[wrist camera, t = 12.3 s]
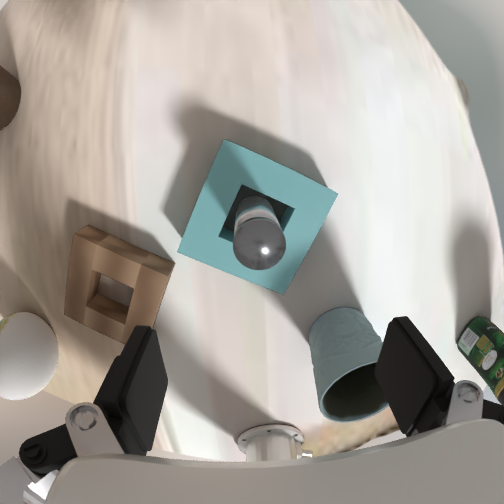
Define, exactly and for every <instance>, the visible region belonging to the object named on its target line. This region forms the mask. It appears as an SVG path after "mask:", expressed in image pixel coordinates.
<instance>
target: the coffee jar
mask: <svg viewBox="0 0 504 504" xmlns="http://www.w3.org/2000/svg"><path fill="white" fill-rule="evenodd" d="M457 347H458V349H459V351H460V352H461V353H462V354H463V355H464V357H465V358H466V359H467V360H468V361H469V362H470V364H471V365H472V366H473V367H474V368H475V369H476V371H477V372H478V373H479V374H480V376H481V377H482V378H483V379H484V381H485V382H486V383H487V384H488V386H489V387H490V389H491V390H492V392H493V393H494V395H495V397H496V398H497V399H498V401H499V402H500V403H501V404H502V405H503V406H504V333H503V332H502V331H501V330H500V329H499V328H498V327H497V326H496V325H495V324H494V323H492V322H491V321H490V320H489V319H487V318H484V317H476V318H475V319H474V320H473V321H472V322H471V323H469V324H468V325H467V326H466V328H465V329H464V331H463V332H462V334H461V336H460V338H459V341H458V344H457Z"/></svg>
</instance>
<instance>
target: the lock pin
mask: <svg viewBox="0 0 504 504" xmlns="http://www.w3.org/2000/svg"><path fill="white" fill-rule="evenodd" d="M285 250H286V239H285V236H284V234H283V231H282V229H281V227H280V224H279V222H278V220H277V217H276V215H275V213H274V210H273V208H272V206H271V204H270V203H269V202H268V201H267V200H266V199H265V198H263V197H260V196H250V197H247V198H245V199H244V200H242V201H241V202H240V204H239V205H238V207H237V211H236V219H235V228H234V238H233V252H234V255H235V257H236V258H237V260H238V261H239V262H240V263H241V264H242V265H243V266H245V267H247V268H249V269H252V270H266V269H269V268H271V267H273V266H275V265H276V264H277V263H278V262H279V261H280V260H281V259H282V257H283V256H284V253H285Z"/></svg>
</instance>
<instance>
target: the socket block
mask: <svg viewBox="0 0 504 504" xmlns="http://www.w3.org/2000/svg"><path fill="white" fill-rule="evenodd" d="M241 184H242V185H245V186H247V187H249V188H251V189H254V190H256V191H258V192H260V193H263V194H265V195H267V196H269V197H271V198H273V199H276V200H278V201H280V202H282V203H284V204H286V205H288V206H287V208H286V210H285V212H284V214H283V216H282V218H281V220H280V222H279V224H280V227H281V229H282V231H283V234H284V236H285V239H286V250H285V253H284V256H283V257H282V259H281V260H280V261H279V262H278V263H277V264H276V265H275V266H273V267H271V268H269V269H266V270H252V269H249V268H247V267H245V266H243V265H242V264H241V263H240V262H239V261H238V260H237V258H236V257H235V255H234V252H233V238H234V232H233V231H230V230H228V229H226V228H223V227H222V226H223V224H224V222H225V220H226V217H227V215H228V213H229V211H230V208H231V206H232V204H233V202H234V200H235V197H236V195H237V193H238V191H239V189H240V187H241ZM337 195H338V193H336V192H334V191H333V190H331V189H329V188H327V187H325V186H323V185H321V184H320V183H318V182H316V181H314V180H312V179H310V178H308V177H306V176H304V175H302V174H300V173H298V172H296V171H294V170H292V169H290V168H288V167H286V166H283V165H281V164H279V163H277V162H275V161H273V160H271V159H269V158H266V157H264V156H262V155H260V154H258V153H255V152H253V151H251V150H249V149H246V148H244V147H242V146H240V145H237V144H235V143H232V142H230V141H228V140H225V139H224V140H223V143H222V145H221V147H220V149H219V151H218V154H217V156H216V158H215V160H214V163H213V165H212V167H211V169H210V172H209V174H208V176H207V179H206V181H205V183H204V186H203V188H202V190H201V193H200V195H199V198H198V200H197V202H196V205H195V207H194V210H193V212H192V215H191V217H190V220H189V222H188V225H187V227H186V230H185V233H184V235H183V238H182V240H181V243H180V246H179V248H178V251H177V252H178V253H181V254H183V255H185V256H188V257H190V258H193V259H195V260H198V261H200V262H202V263H205V264H207V265H210V266H212V267H215V268H217V269H220V270H222V271H225V272H227V273H229V274H232V275H234V276H237V277H239V278H242V279H244V280H247V281H250V282H252V283H255V284H257V285H260V286H262V287H265V288H267V289H270V290H272V291H275V292H278V293H280V294H283V295H284V293H285V291H286V289H287V288H288V286H289V284H290V282H291V281H292V279H293V277H294V275H295V273H296V272H297V270H298V268H299V266H300V265H301V263H302V261H303V259H304V257H305V255H306V254H307V252H308V250H309V248H310V246H311V245H312V243H313V241H314V239H315V237H316V235H317V233H318V232H319V230H320V228H321V226H322V224H323V222H324V220H325V218H326V216H327V215H328V213H329V211H330V209H331V207H332V205H333V203H334V201H335V199H336V197H337Z"/></svg>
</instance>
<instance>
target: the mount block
mask: <svg viewBox="0 0 504 504" xmlns="http://www.w3.org/2000/svg"><path fill="white" fill-rule="evenodd" d="M174 265H175V263H174V262H171V261H169V260H167V259H164V258H162V257H160V256H157V255H155V254H153V253H150V252H148V251H146V250H143V249H141V248H139V247H136V246H134V245H132V244H130V243H127V242H125V241H123V240H121V239H118V238H116V237H114V236H112V235H109V234H107V233H105V232H103V231H101V230H98V229H96V228H94V227H92V226H90V225H87V226H86V227H84V228H82V229H81V230H79V231H78V232H76V233H75V234H74V237H73V243H72V249H71V255H70V262H69V269H68V277H67V286H66V296H65V309H64V315H66V316H68V317H70V318H72V319H74V320H76V321H78V322H79V323H81V324H83V325H85V326H87V327H89V328H91V329H93V330H95V331H97V332H99V333H102V334H104V335H106V336H108V337H110V338H112V339H114V340H117V341H119V342H121V343H123V344H125V345H126V343H127V341H128V339H129V337H130V335H131V333H132V331H133V329H134V327H135V326H136V325H144V326H151V328H152V329H153V326H154V323H155V320H156V317H157V314H158V311H159V308H160V305H161V302H162V299H163V296H164V293H165V290H166V287H167V285H168V282H169V279H170V276H171V273H172V271H173V268H174ZM101 274H103V275H105V276H108V277H110V278H112V279H114V280H116V281H118V282H121V283H123V284H125V285H127V286H129V287H132V288H134V291H133V295H132V299H131V303H130V307H129V308H128V307H126V306H124V305H122V304H120V303H117V302H115V301H113V300H111V299H109V298H107V297H105V296H103V295H100V294H98V293H97V291H98V285H99V280H100V275H101Z"/></svg>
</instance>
